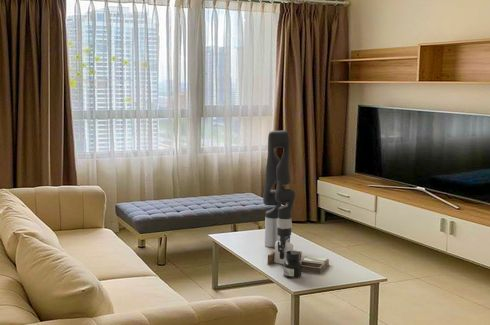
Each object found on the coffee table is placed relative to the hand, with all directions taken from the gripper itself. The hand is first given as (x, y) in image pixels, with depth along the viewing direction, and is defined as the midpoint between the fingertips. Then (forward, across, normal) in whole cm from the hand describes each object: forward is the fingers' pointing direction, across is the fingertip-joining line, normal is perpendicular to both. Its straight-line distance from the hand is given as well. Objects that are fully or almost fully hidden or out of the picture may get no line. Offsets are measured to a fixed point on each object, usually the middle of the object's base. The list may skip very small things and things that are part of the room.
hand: (283, 257), depth 316 cm
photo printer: (+4, 0, 0) cm, 4 cm away
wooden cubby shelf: (+3, -2, 0) cm, 4 cm away
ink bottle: (+4, +17, +10) cm, 20 cm away
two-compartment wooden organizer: (+3, 0, +16) cm, 16 cm away
